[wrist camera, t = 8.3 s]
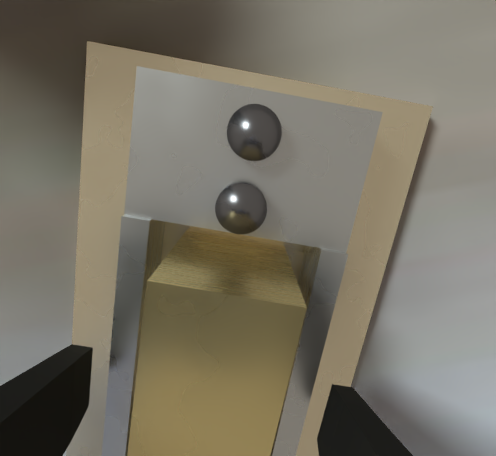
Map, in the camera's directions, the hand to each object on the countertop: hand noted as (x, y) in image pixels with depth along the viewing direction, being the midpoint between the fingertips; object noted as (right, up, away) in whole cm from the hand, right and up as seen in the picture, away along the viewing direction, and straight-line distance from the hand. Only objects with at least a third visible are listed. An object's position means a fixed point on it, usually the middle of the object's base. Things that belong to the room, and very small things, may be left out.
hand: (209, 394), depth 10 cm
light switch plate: (0, +1, +3) cm, 3 cm away
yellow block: (0, +1, +3) cm, 3 cm away
